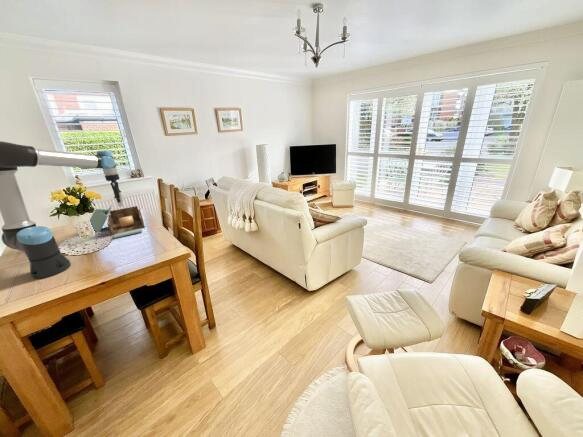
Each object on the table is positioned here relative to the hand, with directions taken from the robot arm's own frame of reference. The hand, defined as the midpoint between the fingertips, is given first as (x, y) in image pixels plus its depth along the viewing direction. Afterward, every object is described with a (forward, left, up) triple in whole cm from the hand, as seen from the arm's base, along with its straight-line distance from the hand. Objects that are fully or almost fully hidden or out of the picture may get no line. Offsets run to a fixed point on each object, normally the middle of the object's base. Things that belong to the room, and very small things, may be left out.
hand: (120, 204), depth 167 cm
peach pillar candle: (0, 0, -17) cm, 17 cm away
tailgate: (0, -12, -17) cm, 21 cm away
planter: (-21, +10, -16) cm, 28 cm away
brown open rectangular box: (0, 0, -18) cm, 18 cm away
